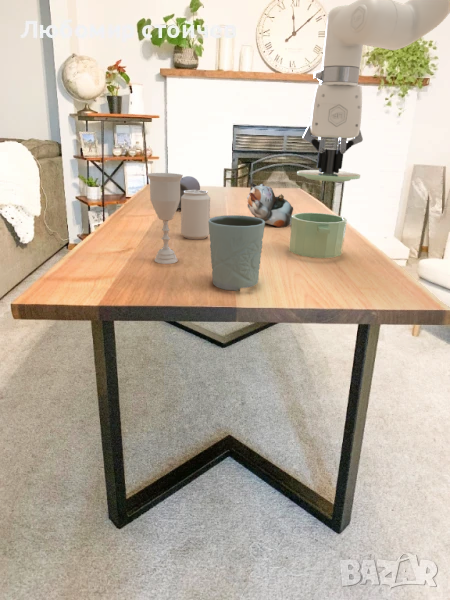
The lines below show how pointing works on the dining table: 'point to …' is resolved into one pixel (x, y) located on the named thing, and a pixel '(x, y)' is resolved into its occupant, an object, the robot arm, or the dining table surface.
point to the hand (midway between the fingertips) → (328, 171)
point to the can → (195, 214)
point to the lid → (328, 170)
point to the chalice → (165, 208)
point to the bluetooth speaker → (188, 186)
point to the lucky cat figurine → (269, 206)
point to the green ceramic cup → (235, 250)
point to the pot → (317, 235)
